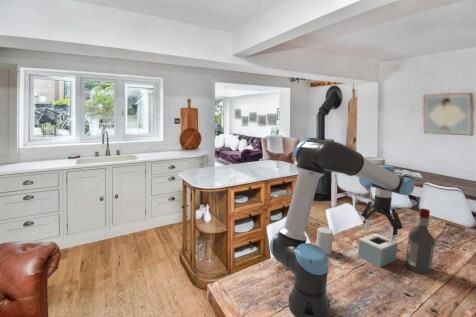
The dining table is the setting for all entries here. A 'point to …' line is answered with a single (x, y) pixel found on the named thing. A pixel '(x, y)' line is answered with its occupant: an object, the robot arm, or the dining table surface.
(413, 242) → the liquor
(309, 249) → the robot arm
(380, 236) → the open-top box
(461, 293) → the dining table surface
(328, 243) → the cup
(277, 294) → the dining table surface
